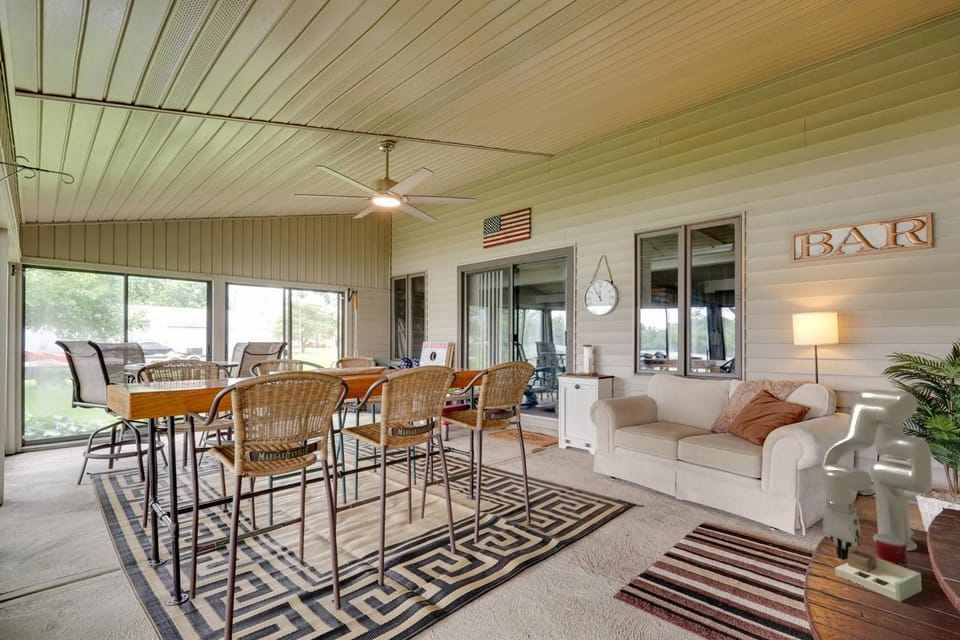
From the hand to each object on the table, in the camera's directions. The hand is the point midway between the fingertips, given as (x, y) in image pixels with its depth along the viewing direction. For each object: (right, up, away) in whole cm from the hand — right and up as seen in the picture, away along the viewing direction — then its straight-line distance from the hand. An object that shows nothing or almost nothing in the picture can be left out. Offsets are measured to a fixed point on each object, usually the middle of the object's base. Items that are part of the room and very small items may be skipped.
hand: (842, 558), depth 164 cm
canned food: (+14, -3, -4) cm, 15 cm away
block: (+2, 0, -5) cm, 6 cm away
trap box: (+3, -3, -11) cm, 11 cm away
